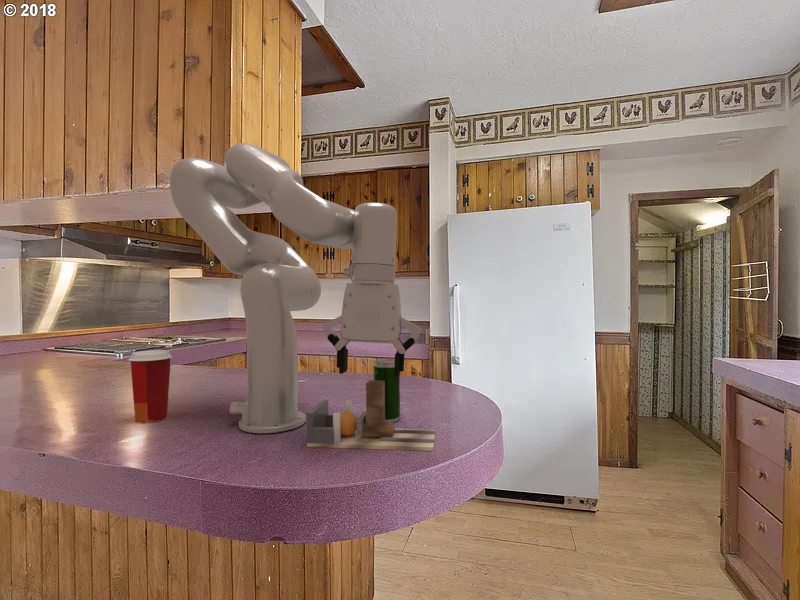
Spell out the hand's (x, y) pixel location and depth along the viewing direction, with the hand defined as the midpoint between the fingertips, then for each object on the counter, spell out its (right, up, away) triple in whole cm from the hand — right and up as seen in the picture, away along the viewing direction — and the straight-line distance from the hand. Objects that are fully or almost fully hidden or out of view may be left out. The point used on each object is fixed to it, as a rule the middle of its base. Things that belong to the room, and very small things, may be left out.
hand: (370, 373), depth 71 cm
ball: (-4, -9, 0) cm, 10 cm away
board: (+1, -11, 0) cm, 11 cm away
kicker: (+1, -11, 0) cm, 11 cm away
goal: (-7, -11, 0) cm, 13 cm away
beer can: (+3, -12, +11) cm, 16 cm away
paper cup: (-47, -12, +13) cm, 50 cm away
